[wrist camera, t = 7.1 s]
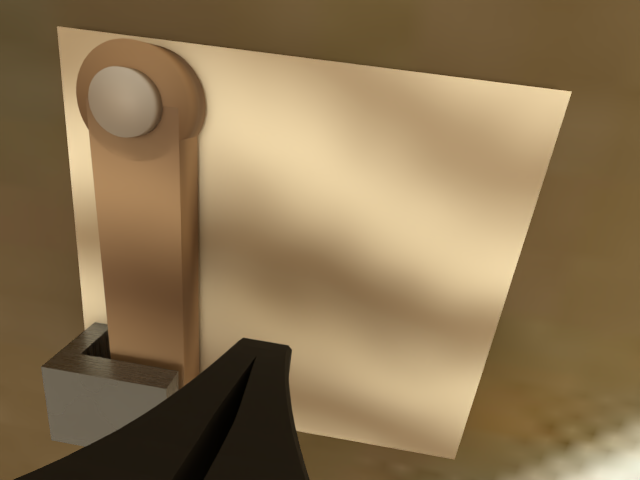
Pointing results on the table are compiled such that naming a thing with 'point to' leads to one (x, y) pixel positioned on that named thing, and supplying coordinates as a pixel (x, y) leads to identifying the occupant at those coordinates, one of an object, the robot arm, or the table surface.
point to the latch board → (348, 227)
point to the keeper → (99, 389)
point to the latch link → (146, 198)
